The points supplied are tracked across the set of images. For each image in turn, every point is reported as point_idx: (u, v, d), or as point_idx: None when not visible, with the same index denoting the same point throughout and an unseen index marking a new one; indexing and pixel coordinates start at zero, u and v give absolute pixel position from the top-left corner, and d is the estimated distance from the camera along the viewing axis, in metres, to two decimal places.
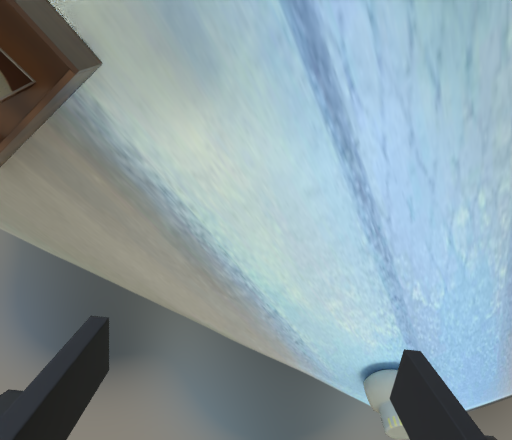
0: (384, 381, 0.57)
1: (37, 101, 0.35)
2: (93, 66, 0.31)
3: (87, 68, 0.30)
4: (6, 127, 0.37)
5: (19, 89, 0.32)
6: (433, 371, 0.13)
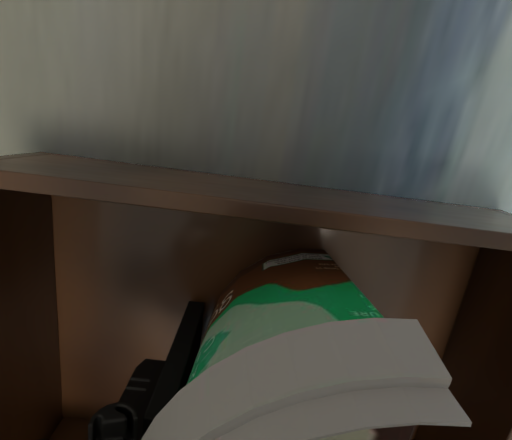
0: None
1: None
2: None
3: None
4: None
5: None
6: None
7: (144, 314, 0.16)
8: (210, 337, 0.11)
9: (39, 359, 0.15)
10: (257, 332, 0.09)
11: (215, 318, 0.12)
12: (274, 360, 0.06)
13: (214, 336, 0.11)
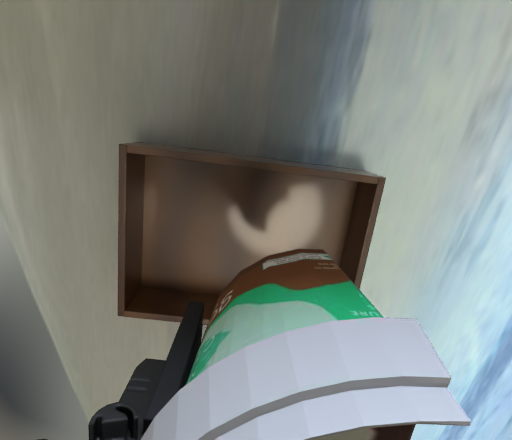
0: None
1: None
2: None
3: None
4: (196, 278, 0.32)
5: None
6: None
7: (187, 226, 0.31)
8: (210, 337, 0.11)
9: (137, 245, 0.29)
10: (256, 331, 0.09)
11: (215, 318, 0.12)
12: (274, 359, 0.06)
13: (214, 336, 0.11)
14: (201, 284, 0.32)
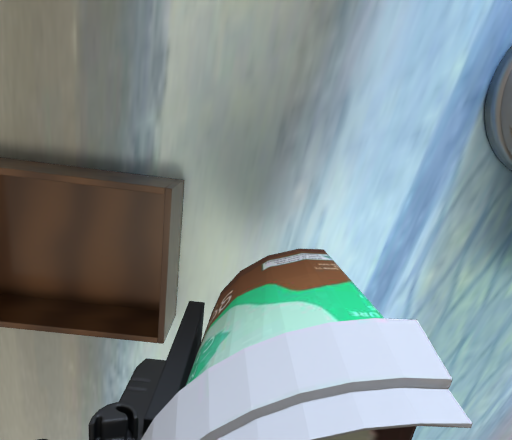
0: None
1: (90, 293, 0.33)
2: (170, 325, 0.33)
3: None
4: (34, 283, 0.33)
5: None
6: None
7: (18, 233, 0.32)
8: (209, 337, 0.11)
9: None
10: (256, 332, 0.09)
11: (214, 318, 0.12)
12: (274, 361, 0.06)
13: (213, 336, 0.11)
14: (40, 289, 0.33)
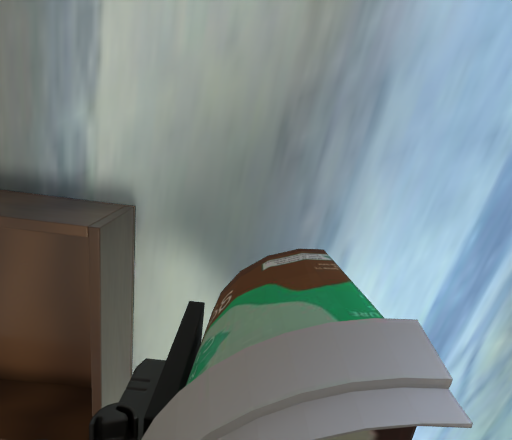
0: None
1: (6, 365, 0.23)
2: None
3: None
4: None
5: None
6: None
7: None
8: (210, 337, 0.11)
9: None
10: (257, 333, 0.09)
11: (215, 318, 0.12)
12: (274, 361, 0.06)
13: (214, 336, 0.11)
14: None
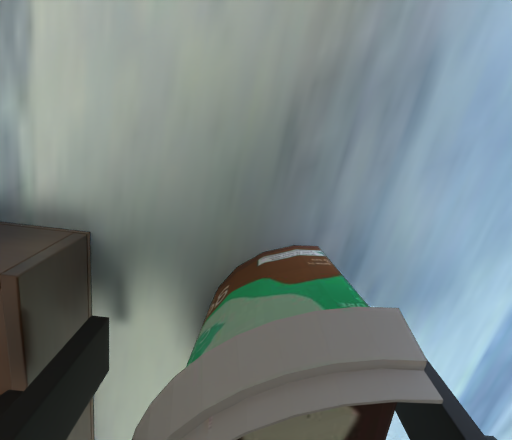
0: None
1: None
2: None
3: None
4: None
5: None
6: (433, 371, 0.13)
7: None
8: (206, 329, 0.11)
9: None
10: (249, 323, 0.09)
11: (211, 312, 0.13)
12: (263, 346, 0.07)
13: (209, 328, 0.11)
14: None
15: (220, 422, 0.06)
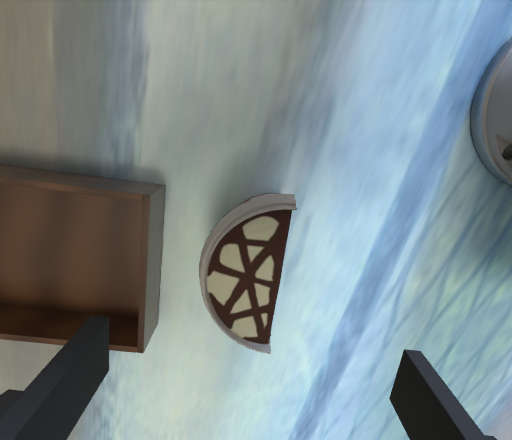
0: None
1: (69, 300, 0.33)
2: (151, 333, 0.32)
3: None
4: (11, 290, 0.32)
5: None
6: (433, 371, 0.13)
7: None
8: None
9: None
10: None
11: None
12: (250, 204, 0.22)
13: None
14: (17, 296, 0.32)
15: (237, 220, 0.21)
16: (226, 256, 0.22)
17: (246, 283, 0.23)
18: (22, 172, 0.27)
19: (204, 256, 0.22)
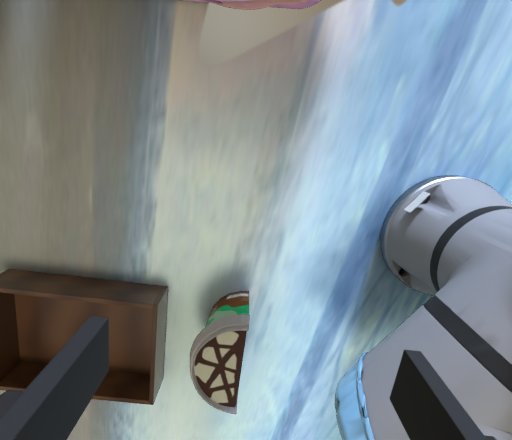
0: None
1: None
2: (159, 387, 0.45)
3: (156, 394, 0.44)
4: None
5: None
6: (433, 371, 0.13)
7: (48, 322, 0.44)
8: (209, 320, 0.39)
9: (9, 338, 0.42)
10: (220, 318, 0.36)
11: (211, 315, 0.40)
12: (221, 322, 0.34)
13: (210, 319, 0.38)
14: None
15: (212, 335, 0.33)
16: (206, 354, 0.35)
17: (220, 370, 0.35)
18: (71, 285, 0.40)
19: (192, 354, 0.34)
